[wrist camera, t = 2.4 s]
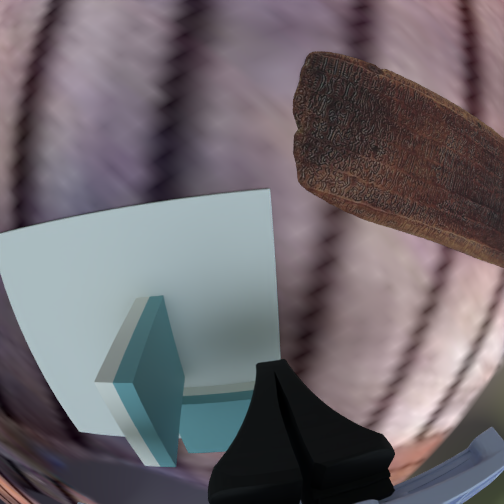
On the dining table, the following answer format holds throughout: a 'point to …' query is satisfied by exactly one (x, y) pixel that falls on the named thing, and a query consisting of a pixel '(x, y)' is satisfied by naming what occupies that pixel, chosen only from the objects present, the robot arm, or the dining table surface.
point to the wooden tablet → (399, 155)
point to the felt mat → (146, 291)
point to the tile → (145, 382)
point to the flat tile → (213, 416)
